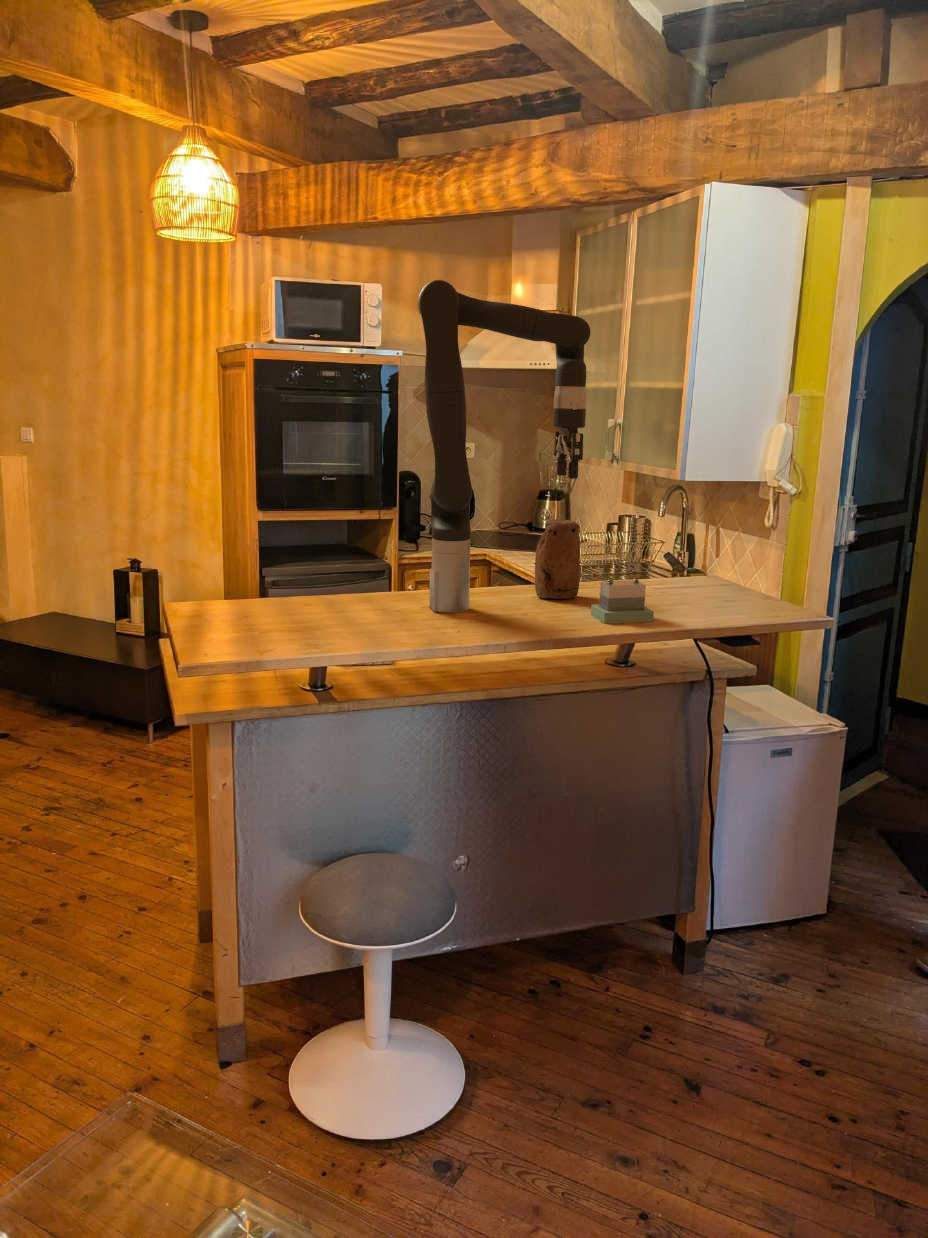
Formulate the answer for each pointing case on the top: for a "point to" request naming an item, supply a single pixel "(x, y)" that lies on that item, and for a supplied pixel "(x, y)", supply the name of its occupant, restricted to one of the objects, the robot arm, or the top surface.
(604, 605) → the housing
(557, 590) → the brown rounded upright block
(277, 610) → the top surface
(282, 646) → the top surface
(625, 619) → the stand
